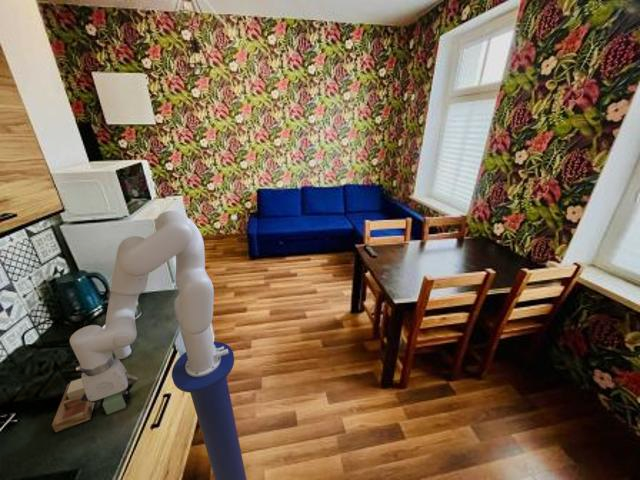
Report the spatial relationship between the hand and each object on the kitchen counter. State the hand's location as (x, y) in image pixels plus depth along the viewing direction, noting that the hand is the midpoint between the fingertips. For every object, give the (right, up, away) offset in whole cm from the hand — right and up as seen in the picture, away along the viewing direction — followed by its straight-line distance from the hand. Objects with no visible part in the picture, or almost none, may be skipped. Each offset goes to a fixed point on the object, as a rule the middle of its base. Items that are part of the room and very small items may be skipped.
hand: (117, 403), depth 87 cm
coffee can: (-26, +17, +41) cm, 51 cm away
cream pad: (-14, +1, +3) cm, 15 cm away
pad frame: (-13, 0, 0) cm, 13 cm away
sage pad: (0, 0, 0) cm, 0 cm away
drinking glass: (-12, +8, +19) cm, 24 cm away
